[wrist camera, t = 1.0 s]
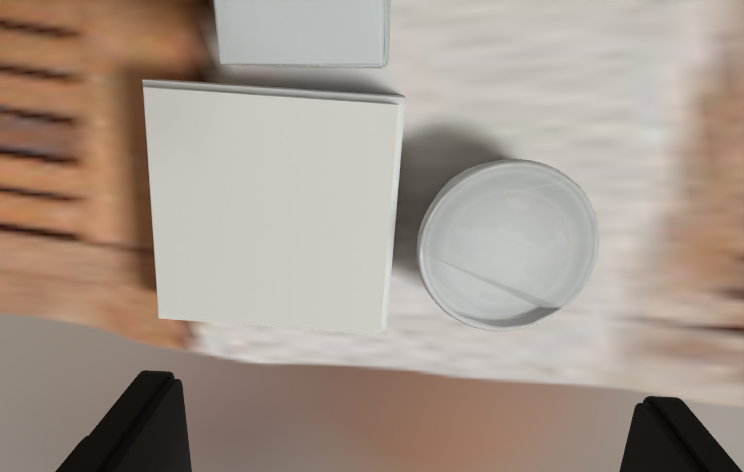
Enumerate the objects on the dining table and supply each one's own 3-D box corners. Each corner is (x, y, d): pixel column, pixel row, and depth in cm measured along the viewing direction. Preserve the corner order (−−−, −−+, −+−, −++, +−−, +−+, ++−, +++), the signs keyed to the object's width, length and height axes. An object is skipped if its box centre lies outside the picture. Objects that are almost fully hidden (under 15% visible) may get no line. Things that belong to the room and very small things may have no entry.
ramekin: (424, 309, 39) (430, 344, 34) (402, 163, 35) (404, 178, 30) (575, 287, 38) (604, 320, 33) (566, 136, 34) (597, 146, 29)
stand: (164, 79, 34) (136, 79, 30) (404, 95, 34) (406, 98, 30) (176, 298, 39) (153, 323, 35) (386, 314, 39) (386, 340, 35)
